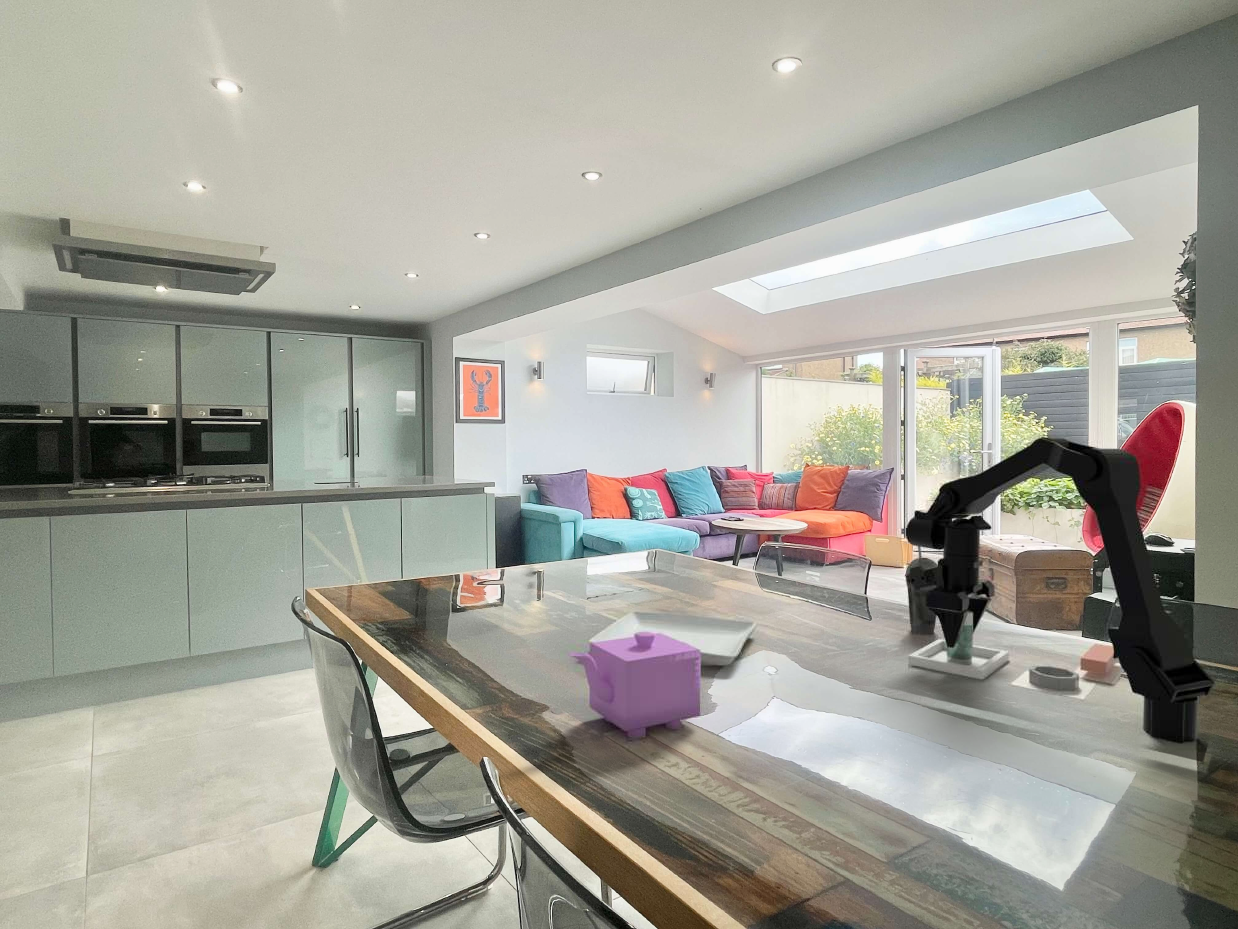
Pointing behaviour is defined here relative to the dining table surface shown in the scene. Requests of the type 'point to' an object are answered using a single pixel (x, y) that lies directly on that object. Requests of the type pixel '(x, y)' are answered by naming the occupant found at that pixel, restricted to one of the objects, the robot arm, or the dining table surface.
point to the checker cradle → (1065, 680)
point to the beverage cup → (920, 600)
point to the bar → (1098, 659)
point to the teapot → (643, 681)
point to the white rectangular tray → (937, 660)
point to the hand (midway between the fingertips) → (959, 642)
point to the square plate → (686, 633)
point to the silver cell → (963, 644)
